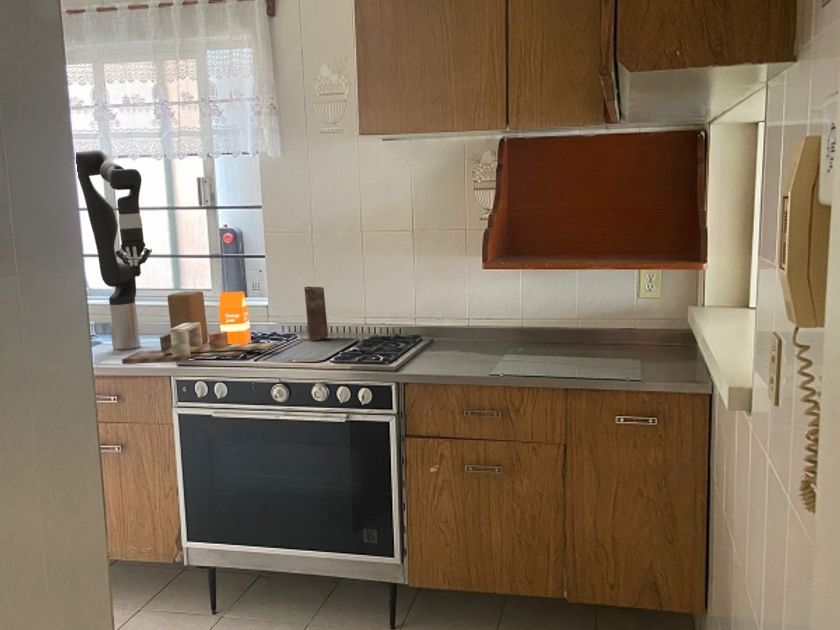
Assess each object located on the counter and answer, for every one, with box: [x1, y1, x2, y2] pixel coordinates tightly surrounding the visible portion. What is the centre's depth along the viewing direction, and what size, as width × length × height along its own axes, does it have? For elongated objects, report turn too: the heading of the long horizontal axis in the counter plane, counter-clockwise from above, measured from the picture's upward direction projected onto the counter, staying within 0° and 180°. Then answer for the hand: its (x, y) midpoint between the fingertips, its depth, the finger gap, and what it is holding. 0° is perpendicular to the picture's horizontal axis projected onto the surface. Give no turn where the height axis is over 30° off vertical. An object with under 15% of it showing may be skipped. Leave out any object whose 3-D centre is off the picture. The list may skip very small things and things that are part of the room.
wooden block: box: [167, 290, 209, 345], centre depth 303 cm, size 10×10×20 cm
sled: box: [159, 330, 277, 354], centre depth 279 cm, size 39×7×6 cm, turn 85°
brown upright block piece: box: [303, 286, 329, 342], centre depth 296 cm, size 8×7×20 cm
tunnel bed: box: [121, 322, 248, 365], centre depth 280 cm, size 42×14×11 cm, turn 85°
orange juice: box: [218, 291, 252, 344], centre depth 295 cm, size 8×9×20 cm
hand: (136, 276), depth 281 cm, fingers closed
